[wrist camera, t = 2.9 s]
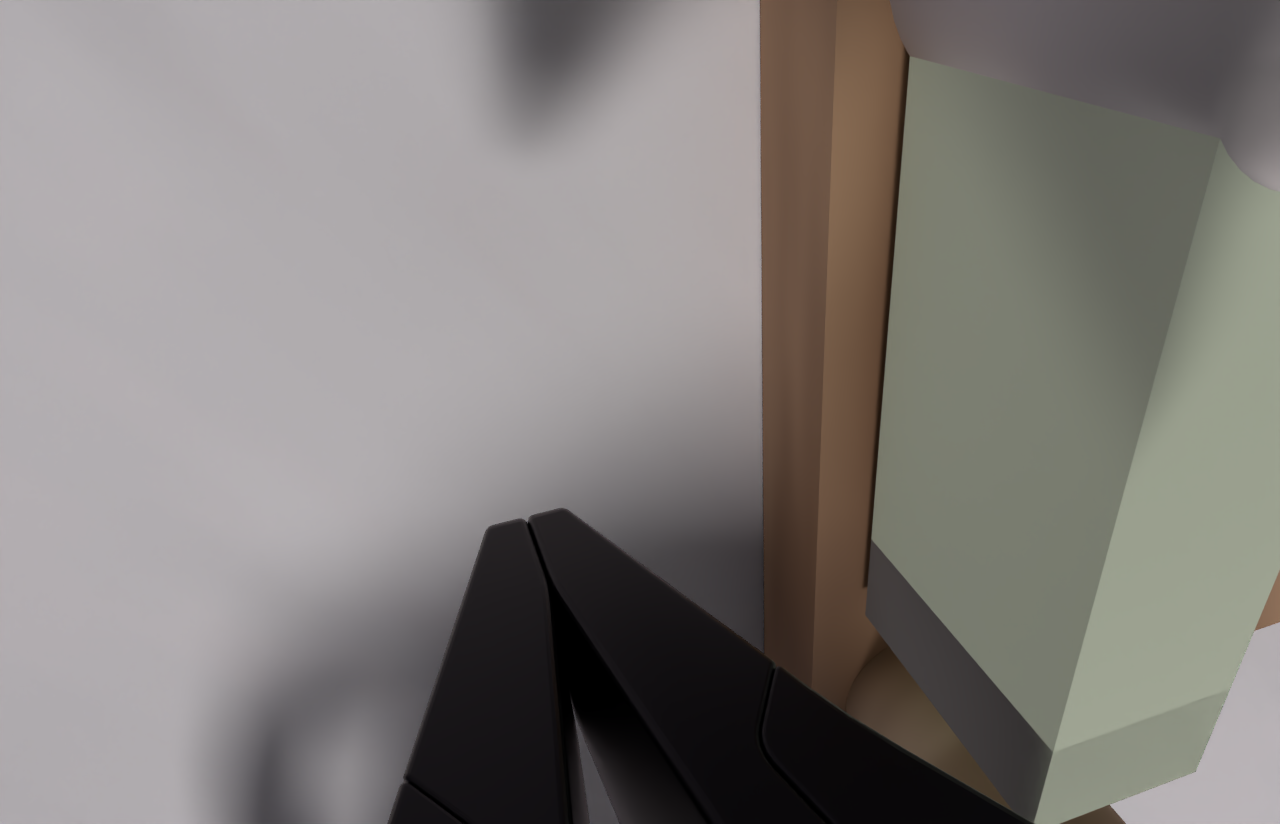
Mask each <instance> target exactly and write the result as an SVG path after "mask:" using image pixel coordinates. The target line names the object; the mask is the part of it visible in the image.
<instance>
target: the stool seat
mask: <svg viewBox="0 0 1280 824" xmlns="http://www.w3.org/2000/svg"><path fill="white" fill-rule="evenodd" d="M760 44H761V205H762V366H763V527H764V654H765V655H766V656H767V657H769V658H770V659H772V660H773V661H774V662H775V664H776V667H778V666H781V667H783V668H784V669H786V670H787V671H788V672H790V673H791V674H792V675H794V676H795V677H796V678H798V679H799V680H801V681H802V682H803V683H805V684H806V685H807V686H809V687H810V688H812V689H813V690H815V691H816V692H817V693H819V694H820V695H822V696H823V697H825V698H826V699H828V700H829V701H830V702H832V703H833V704H835V705H836V706H838V707H839V708H841V709H842V710H843V711H845V712H846V713H848V714H849V715H851V716H852V717H854V718H856V719H857V720H859V721H860V722H862V723H864V724H865V725H867V726H869V727H870V728H872V729H873V730H875V731H877V732H878V733H880V734H882V735H883V736H885V737H887V738H888V739H890V740H891V741H893V742H895V743H896V744H898V745H900V746H901V747H903V748H905V749H906V750H908V751H910V752H912V753H913V754H915V755H917V756H918V757H920V758H922V759H924V760H925V761H927V762H929V763H931V764H932V765H934V766H936V767H938V768H939V769H941V770H943V771H944V772H946V773H948V774H950V775H951V776H953V777H955V778H957V779H958V780H960V781H962V782H964V783H965V784H967V785H969V786H970V787H972V788H974V789H976V790H977V791H979V792H981V793H983V794H984V795H986V796H988V797H990V798H991V799H993V800H995V801H996V802H998V803H1000V804H1002V805H1003V806H1005V807H1007V808H1009V809H1010V810H1012V809H1011V808H1010V806H1009V805H1008V804H1007V803H1006V801H1005V800H1004V799H1003V797H1002V796H1001V795H1000V793H999V792H998V791H997V789H996V788H995V787H994V785H993V784H992V783H991V781H990V780H989V779H988V777H987V776H986V775H985V773H984V772H983V771H982V769H981V768H980V767H979V765H978V764H977V763H976V761H975V760H974V759H973V757H972V756H971V755H970V753H969V752H968V751H967V749H966V748H965V747H964V745H963V744H962V743H961V741H960V740H959V739H958V737H957V736H956V735H955V733H954V732H953V731H952V729H951V728H950V727H949V725H948V724H947V723H946V721H945V720H944V719H943V718H942V716H941V715H940V714H939V712H938V711H937V710H936V708H935V707H934V706H933V704H932V703H931V702H930V700H929V699H928V698H927V696H926V695H925V694H924V692H923V691H922V690H921V688H920V687H919V686H918V684H917V683H916V682H915V680H914V679H913V678H912V676H911V675H910V674H909V672H908V671H907V670H906V668H905V667H904V666H903V664H902V663H901V662H900V660H899V659H898V658H897V656H896V655H895V654H894V652H893V651H892V650H891V648H890V647H889V646H888V644H887V643H886V642H885V640H884V639H883V638H882V636H881V635H880V634H879V632H878V631H877V630H876V629H875V627H874V626H873V625H872V623H871V622H870V621H869V619H868V618H867V617H866V615H865V612H866V599H867V587H868V574H869V562H870V549H871V537H872V524H873V512H874V499H875V487H876V474H877V462H878V449H879V437H880V424H881V412H882V399H883V387H884V374H885V362H886V349H887V337H888V324H889V312H890V299H891V287H892V274H893V262H894V249H895V237H896V224H897V212H898V199H899V187H900V174H901V162H902V149H903V137H904V124H905V112H906V99H907V87H908V74H909V62H910V56H909V54H908V52H907V50H906V48H905V46H904V45H903V43H902V41H901V39H900V36H899V33H898V30H897V28H896V25H895V22H894V18H893V14H892V9H891V4H890V0H760ZM1278 622H1280V570H1279V573H1278V575H1277V578H1276V580H1275V582H1274V585H1273V587H1272V590H1271V592H1270V594H1269V597H1268V599H1267V601H1266V604H1265V606H1264V609H1263V611H1262V613H1261V616H1260V618H1259V621H1258V623H1257V625H1256V628H1255V630H1258V629H1261V628H1264V627H1267V626H1270V625H1272V624H1275V623H1278ZM1255 630H1254V631H1255ZM1012 811H1013V810H1012ZM1060 824H1126V823H1125V822H1124V821H1123V820H1122V819H1121V818H1120V816H1119V815H1118V814H1117V813H1116V812H1115V811H1114V809H1113V808H1112V807H1111V806H1110V805H1107V806H1105V807H1102V808H1099V809H1097V810H1094V811H1091V812H1089V813H1086V814H1084V815H1081V816H1078V817H1076V818H1073V819H1071V820H1068V821H1065V822H1063V823H1060Z"/></svg>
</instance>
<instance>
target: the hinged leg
mask: <svg viewBox="0 0 1280 824" xmlns="http://www.w3.org/2000/svg"><path fill="white" fill-rule="evenodd" d="M890 4H891V9H892V14H893V18H894V22H895V25H896V28H897V30H898V33H899V36H900V39H901V41H902V43H903V45H904V46H905V48H906V50H907V52H908V54H909V56H910V62H909V74H908V87H907V99H906V112H905V124H904V137H903V149H902V162H901V174H900V187H899V199H898V212H897V224H896V237H895V249H894V262H893V274H892V287H891V299H890V312H889V324H888V337H887V349H886V362H885V374H884V387H883V399H882V412H881V424H880V437H879V449H878V462H877V474H876V487H875V499H874V512H873V524H872V537H871V549H870V562H869V574H868V587H867V599H866V612H865V615H866V617H867V618H868V619H869V621H870V622H871V623H872V625H873V626H874V627H875V629H876V630H877V631H878V632H879V634H880V635H881V636H882V638H883V639H884V640H885V642H886V643H887V644H888V646H889V647H890V648H891V650H892V651H893V652H894V654H895V655H896V656H897V658H898V659H899V660H900V662H901V663H902V664H903V666H904V667H905V668H906V670H907V671H908V672H909V674H910V675H911V676H912V678H913V679H914V680H915V682H916V683H917V684H918V686H919V687H920V688H921V690H922V691H923V692H924V694H925V695H926V696H927V698H928V699H929V700H930V702H931V703H932V704H933V706H934V707H935V708H936V710H937V711H938V712H939V714H940V715H941V716H942V718H943V719H944V720H945V721H946V723H947V724H948V725H949V727H950V728H951V729H952V731H953V732H954V733H955V735H956V736H957V737H958V739H959V740H960V741H961V743H962V744H963V745H964V747H965V748H966V749H967V751H968V752H969V753H970V755H971V756H972V757H973V759H974V760H975V761H976V763H977V764H978V765H979V767H980V768H981V769H982V771H983V772H984V773H985V775H986V776H987V777H988V779H989V780H990V781H991V783H992V784H993V785H994V787H995V788H996V789H997V791H998V792H999V793H1000V795H1001V796H1002V797H1003V799H1004V800H1005V801H1006V803H1007V804H1008V805H1009V806H1010V808H1011V809H1012V810H1013V811H1014V812H1016V813H1017V814H1019V815H1021V816H1022V817H1024V818H1026V819H1028V820H1029V821H1031V822H1033V823H1035V824H1060V823H1063V822H1065V821H1068V820H1071V819H1073V818H1076V817H1078V816H1081V815H1084V814H1086V813H1089V812H1091V811H1094V810H1097V809H1099V808H1102V807H1105V806H1107V805H1110V804H1112V803H1115V802H1118V801H1120V800H1123V799H1125V798H1128V797H1131V796H1133V795H1136V794H1139V793H1141V792H1144V791H1146V790H1149V789H1152V788H1154V787H1157V786H1159V785H1162V784H1165V783H1167V782H1170V781H1173V780H1175V779H1178V778H1180V777H1183V776H1186V775H1188V774H1191V773H1193V772H1196V769H1197V767H1198V765H1199V762H1200V760H1201V757H1202V755H1203V753H1204V750H1205V748H1206V745H1207V743H1208V741H1209V738H1210V736H1211V733H1212V731H1213V729H1214V726H1215V724H1216V721H1217V719H1218V717H1219V714H1220V712H1221V709H1222V707H1223V705H1224V702H1225V700H1226V697H1227V695H1228V693H1229V690H1230V688H1231V685H1232V683H1233V681H1234V678H1235V676H1236V673H1237V671H1238V669H1239V666H1240V664H1241V661H1242V659H1243V657H1244V654H1245V652H1246V649H1247V647H1248V645H1249V642H1250V640H1251V637H1252V635H1253V633H1254V630H1255V628H1256V625H1257V623H1258V621H1259V618H1260V616H1261V613H1262V611H1263V609H1264V606H1265V604H1266V601H1267V599H1268V597H1269V594H1270V592H1271V590H1272V587H1273V585H1274V582H1275V580H1276V578H1277V575H1278V573H1279V570H1280V0H890Z"/></svg>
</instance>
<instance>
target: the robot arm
mask: <svg viewBox="0 0 1280 824" xmlns="http://www.w3.org/2000/svg"><path fill="white" fill-rule="evenodd" d="M572 706H573V708H572ZM573 709H574V712H575V715H576V719H577V721H578V724H579V726H580V729H581V732H582V734H583V737H584V739H585V742H586V744H587V747H588V749H589V751H590V754H591V756H592V758H593V761H594V763H595V766H596V768H597V770H598V773H599V775H600V777H601V780H602V782H603V785H604V787H605V789H606V792H607V794H608V796H609V799H610V801H611V804H612V806H613V808H614V811H615V813H616V815H617V818H618V820H619V823H620V824H1035V823H1033V822H1031V821H1029V820H1028V819H1026V818H1024V817H1022V816H1021V815H1019V814H1017V813H1016V812H1014V811H1012V810H1010V809H1009V808H1007V807H1005V806H1003V805H1002V804H1000V803H998V802H996V801H995V800H993V799H991V798H990V797H988V796H986V795H984V794H983V793H981V792H979V791H977V790H976V789H974V788H972V787H970V786H969V785H967V784H965V783H964V782H962V781H960V780H958V779H957V778H955V777H953V776H951V775H950V774H948V773H946V772H944V771H943V770H941V769H939V768H938V767H936V766H934V765H932V764H931V763H929V762H927V761H925V760H924V759H922V758H920V757H918V756H917V755H915V754H913V753H912V752H910V751H908V750H906V749H905V748H903V747H901V746H900V745H898V744H896V743H895V742H893V741H891V740H890V739H888V738H887V737H885V736H883V735H882V734H880V733H878V732H877V731H875V730H873V729H872V728H870V727H869V726H867V725H865V724H864V723H862V722H860V721H859V720H857V719H856V718H854V717H852V716H851V715H849V714H848V713H846V712H845V711H843V710H842V709H841V708H839V707H838V706H836V705H835V704H833V703H832V702H830V701H829V700H828V699H826V698H825V697H823V696H822V695H820V694H819V693H817V692H816V691H815V690H813V689H812V688H810V687H809V686H807V685H806V684H805V683H803V682H802V681H801V680H799V679H798V678H796V677H795V676H794V675H792V674H791V673H790V672H788V671H787V670H786V669H784V668H783V667H781V666H778V667H776V664H775V662H774V661H773V660H772V659H770V658H769V657H767V656H766V655H765V654H763V653H762V652H761V651H759V650H758V649H757V648H755V647H754V646H753V645H751V644H750V643H748V642H747V641H746V640H744V639H743V638H742V637H740V636H739V635H738V634H736V633H735V632H733V631H732V630H731V629H729V628H728V627H727V626H725V625H724V624H723V623H721V622H720V621H718V620H717V619H716V618H714V617H713V616H712V615H710V614H709V613H708V612H706V611H705V610H704V609H702V608H701V607H699V606H698V605H697V604H695V603H694V602H693V601H691V600H690V599H689V598H687V597H686V596H684V595H683V594H682V593H680V592H679V591H678V590H676V589H675V588H674V587H672V586H671V585H670V584H668V583H667V582H665V581H664V580H663V579H661V578H660V577H659V576H657V575H656V574H655V573H653V572H652V571H650V570H649V569H648V568H646V567H645V566H644V565H642V564H641V563H640V562H638V561H637V560H635V559H634V558H633V557H631V556H630V555H629V554H627V553H626V552H625V551H623V550H622V549H621V548H619V547H618V546H616V545H615V544H614V543H612V542H611V541H610V540H608V539H607V538H606V537H604V536H603V535H601V534H600V533H599V532H597V531H596V530H595V529H593V528H592V527H591V526H589V525H588V524H586V523H585V522H584V521H582V520H581V519H580V518H578V517H577V516H576V515H574V514H573V513H572V512H570V511H569V510H567V509H564V508H558V509H554V510H550V511H546V512H542V513H539V514H535V515H532V516H530V517H529V519H528V524H527V522H526V521H525V520H524V519H521V518H520V519H515V520H511V521H507V522H503V523H499V524H495V525H492V526H490V527H488V528H487V530H486V532H485V534H484V537H483V540H482V543H481V546H480V549H479V552H478V555H477V558H476V561H475V564H474V567H473V570H472V573H471V576H470V579H469V582H468V585H467V588H466V591H465V594H464V597H463V600H462V603H461V606H460V609H459V612H458V615H457V618H456V621H455V624H454V627H453V630H452V633H451V636H450V639H449V642H448V645H447V648H446V651H445V654H444V657H443V660H442V663H441V666H440V669H439V672H438V675H437V678H436V681H435V684H434V687H433V690H432V693H431V696H430V699H429V702H428V705H427V708H426V711H425V714H424V717H423V720H422V723H421V726H420V729H419V732H418V735H417V738H416V741H415V744H414V747H413V750H412V753H411V756H410V759H409V762H408V765H407V768H406V771H405V774H404V777H403V779H404V783H403V784H401V785H400V787H399V790H398V793H397V796H396V799H395V802H394V805H393V808H392V811H391V814H390V817H389V820H388V823H387V824H590V822H589V815H588V808H587V800H586V793H585V786H584V779H583V771H582V764H581V757H580V749H579V742H578V736H577V730H576V724H575V719H574V713H573Z"/></svg>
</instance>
